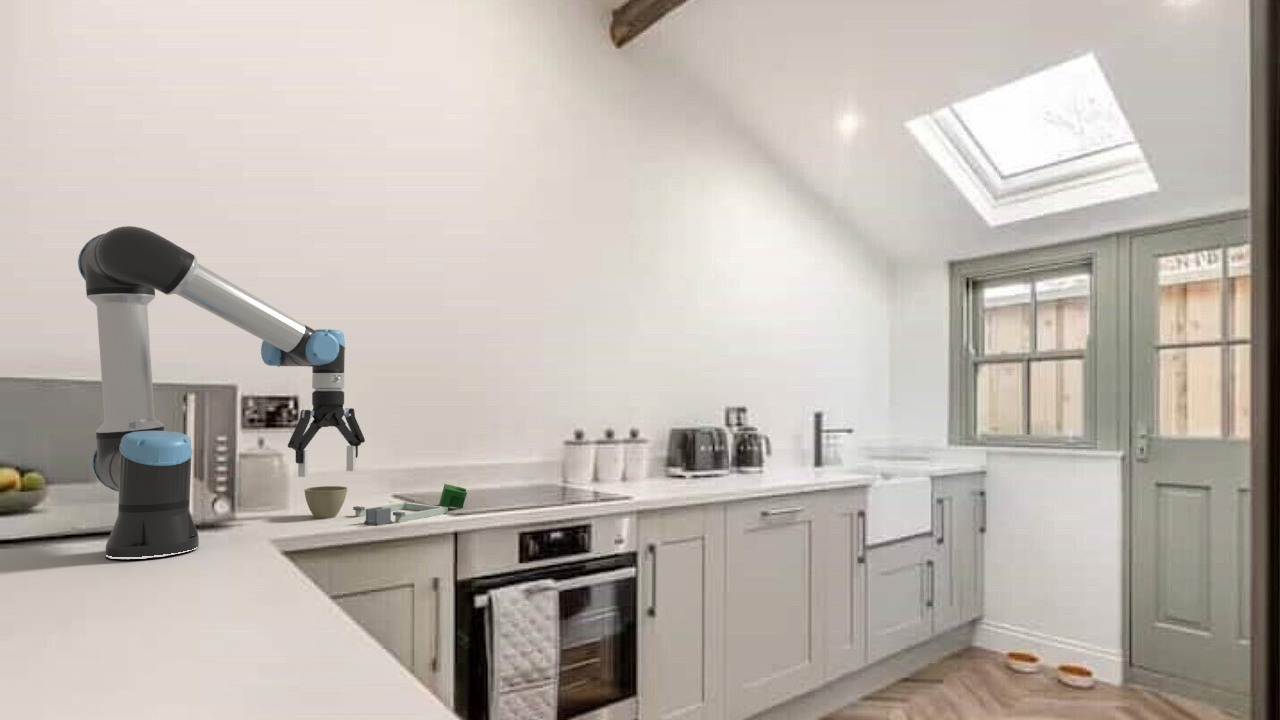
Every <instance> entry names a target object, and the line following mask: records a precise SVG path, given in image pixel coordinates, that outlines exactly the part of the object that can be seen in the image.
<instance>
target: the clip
mask: <svg viewBox="0 0 1280 720" xmlns="http://www.w3.org/2000/svg"><path fill="white" fill-rule="evenodd" d="M375 507H376V508H373V507H368V508H369V509H367V508H365V509H366V515H365V520H363V521H364V522H363V523H364V525H371V524H372V526H377V525H379V526H384V525H389V524H392V523H393V520H392V519H391V517H392V515H391V513H392V511H391V508H385V509H382V507H379V506H375ZM388 523H389V524H388ZM383 524H384V525H383Z"/></svg>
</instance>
